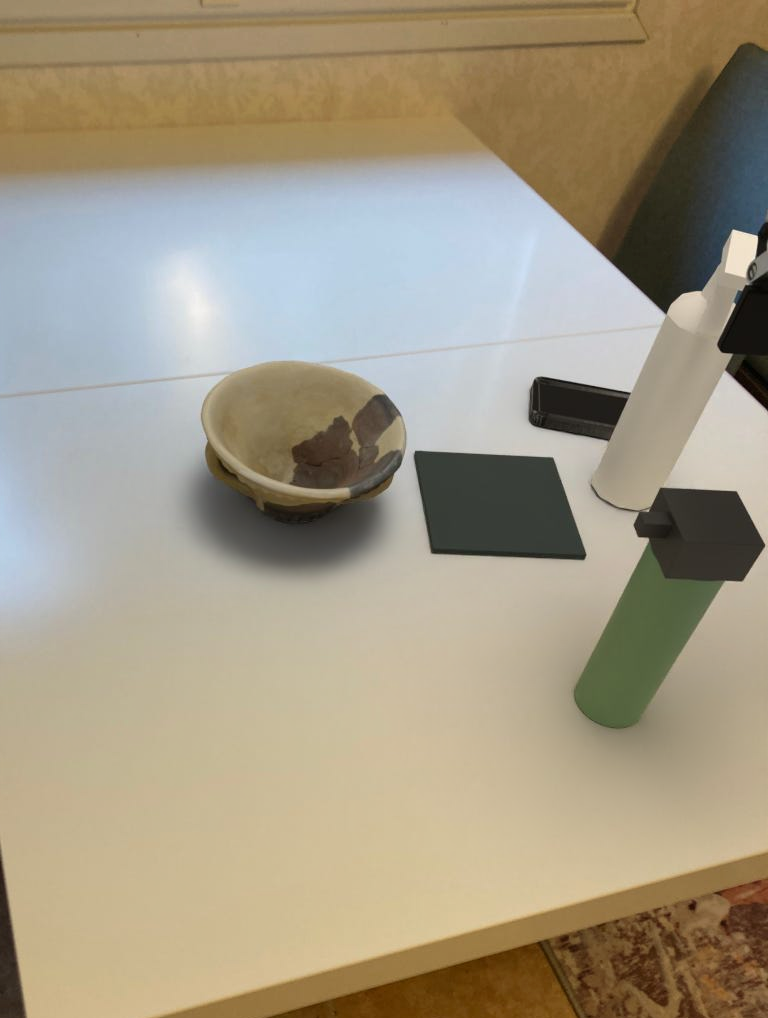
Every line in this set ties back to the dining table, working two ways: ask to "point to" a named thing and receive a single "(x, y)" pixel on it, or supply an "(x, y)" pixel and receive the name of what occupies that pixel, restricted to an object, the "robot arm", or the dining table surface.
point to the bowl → (302, 438)
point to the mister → (666, 597)
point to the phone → (576, 406)
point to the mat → (496, 505)
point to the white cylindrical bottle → (673, 385)
